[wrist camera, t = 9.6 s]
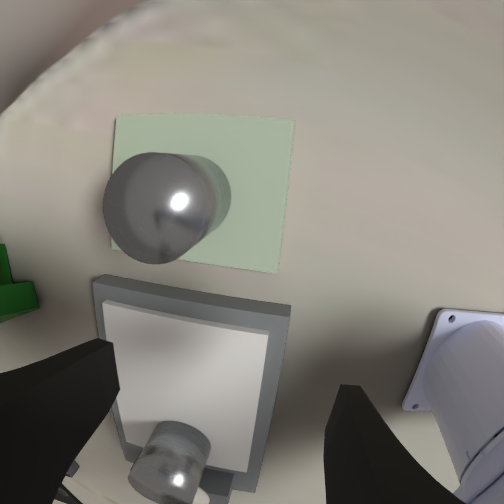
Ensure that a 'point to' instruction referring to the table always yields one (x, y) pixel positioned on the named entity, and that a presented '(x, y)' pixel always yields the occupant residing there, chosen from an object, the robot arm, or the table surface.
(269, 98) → the table surface
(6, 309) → the clamp
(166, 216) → the cylinder
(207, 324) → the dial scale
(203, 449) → the cylinder
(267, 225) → the mat
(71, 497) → the cell phone
